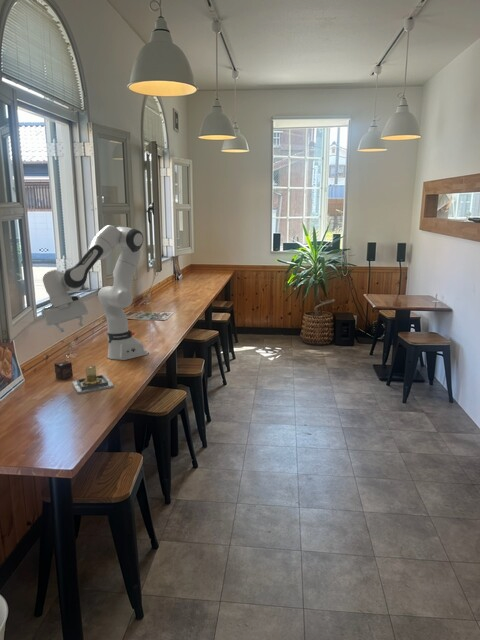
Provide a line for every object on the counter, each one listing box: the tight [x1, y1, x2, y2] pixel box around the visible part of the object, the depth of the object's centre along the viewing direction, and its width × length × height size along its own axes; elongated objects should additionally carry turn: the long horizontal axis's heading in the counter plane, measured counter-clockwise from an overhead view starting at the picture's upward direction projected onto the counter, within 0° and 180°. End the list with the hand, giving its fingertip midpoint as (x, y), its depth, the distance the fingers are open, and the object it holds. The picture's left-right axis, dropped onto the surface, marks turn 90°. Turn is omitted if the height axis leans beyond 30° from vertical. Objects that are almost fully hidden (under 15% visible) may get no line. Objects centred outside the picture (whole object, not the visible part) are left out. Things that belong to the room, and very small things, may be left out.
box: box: [53, 360, 74, 380], centre depth 239 cm, size 6×6×7 cm
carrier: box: [71, 374, 115, 395], centre depth 227 cm, size 16×16×2 cm
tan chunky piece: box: [82, 365, 102, 386], centre depth 226 cm, size 9×8×8 cm
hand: (72, 329), depth 234 cm, fingers open, 8 cm apart
